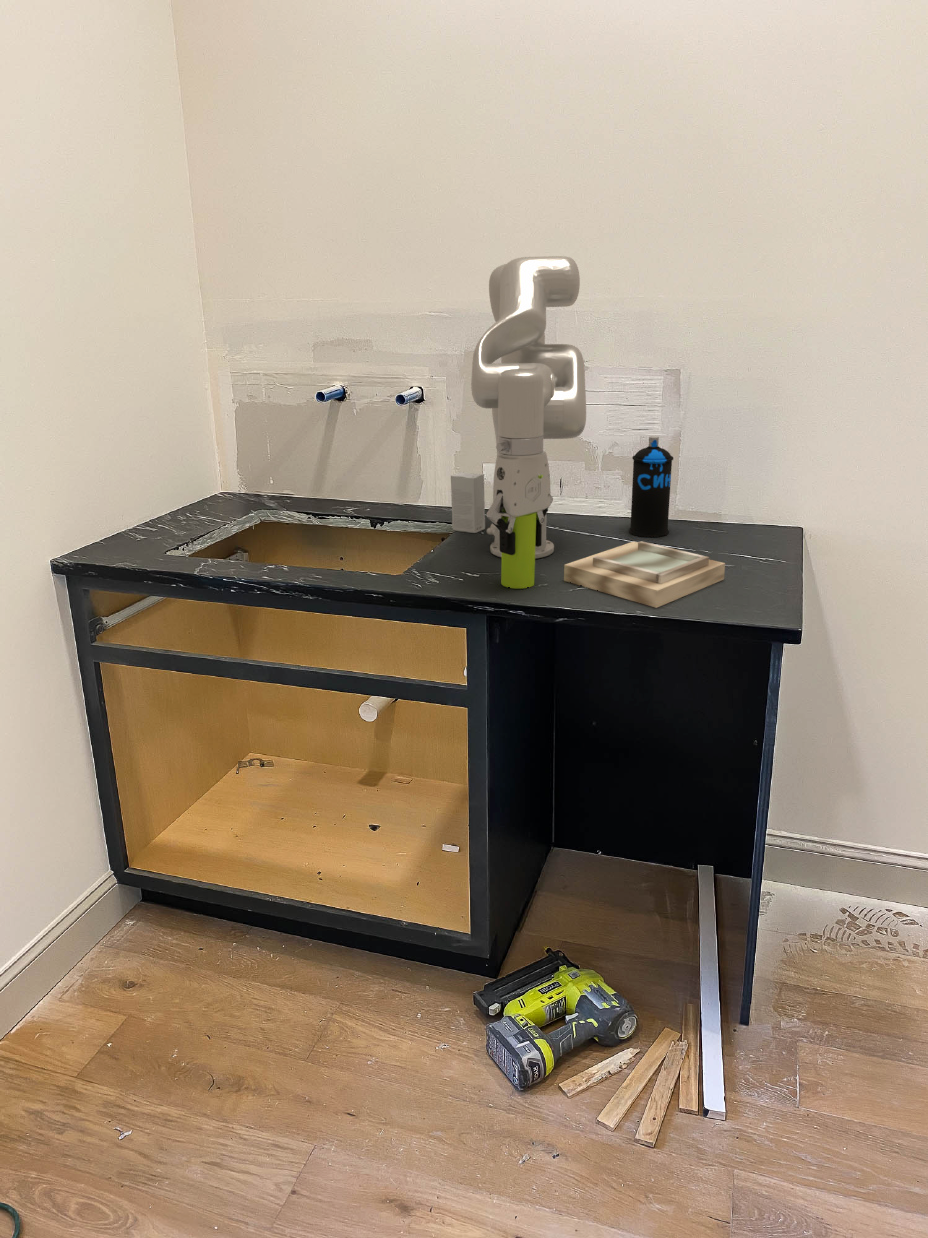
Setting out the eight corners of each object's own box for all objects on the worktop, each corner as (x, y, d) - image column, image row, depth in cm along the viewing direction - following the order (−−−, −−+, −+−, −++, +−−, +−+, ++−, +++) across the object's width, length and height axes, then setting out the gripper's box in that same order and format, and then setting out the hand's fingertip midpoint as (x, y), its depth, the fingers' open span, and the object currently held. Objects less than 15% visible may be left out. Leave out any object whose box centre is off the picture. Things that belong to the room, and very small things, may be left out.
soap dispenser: (537, 590, 156) (541, 476, 149) (498, 587, 158) (500, 474, 150) (542, 579, 162) (545, 469, 154) (504, 577, 163) (505, 467, 156)
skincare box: (485, 529, 194) (485, 474, 190) (475, 533, 191) (474, 478, 186) (462, 525, 197) (460, 471, 193) (451, 530, 194) (449, 475, 189)
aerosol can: (624, 527, 193) (628, 433, 185) (662, 526, 193) (667, 432, 186) (634, 538, 185) (639, 440, 178) (673, 536, 185) (680, 439, 178)
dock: (563, 580, 161) (564, 556, 159) (632, 556, 173) (633, 533, 172) (656, 607, 147) (658, 581, 145) (723, 579, 160) (726, 555, 158)
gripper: (500, 456, 142) (501, 565, 149) (571, 441, 153) (569, 542, 160) (467, 450, 148) (470, 555, 154) (539, 435, 158) (538, 534, 165)
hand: (520, 548), depth 157 cm, fingers closed on soap dispenser, 5 cm apart
